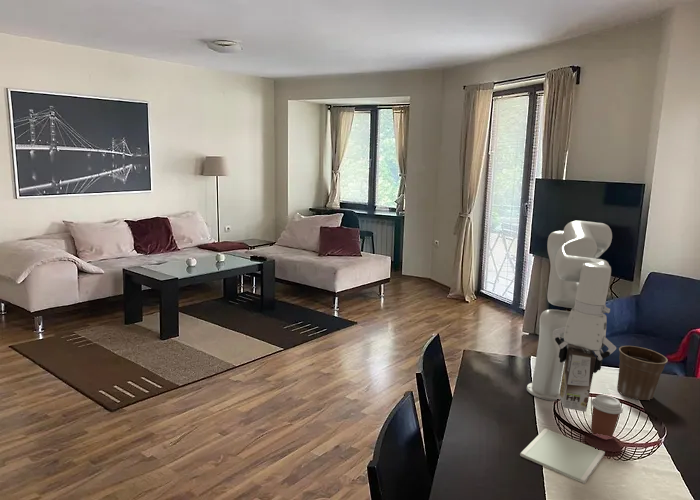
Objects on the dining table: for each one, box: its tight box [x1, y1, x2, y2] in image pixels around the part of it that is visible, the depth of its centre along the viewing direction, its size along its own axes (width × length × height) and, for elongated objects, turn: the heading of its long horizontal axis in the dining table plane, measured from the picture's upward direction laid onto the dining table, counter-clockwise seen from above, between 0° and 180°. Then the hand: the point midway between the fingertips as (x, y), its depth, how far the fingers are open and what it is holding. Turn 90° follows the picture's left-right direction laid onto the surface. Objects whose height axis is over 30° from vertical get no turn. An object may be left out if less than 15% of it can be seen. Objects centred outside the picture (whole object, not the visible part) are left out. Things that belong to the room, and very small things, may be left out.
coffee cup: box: [590, 394, 624, 436], centre depth 173 cm, size 9×9×12 cm
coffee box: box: [559, 344, 597, 413], centre depth 155 cm, size 9×6×16 cm
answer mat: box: [519, 427, 606, 484], centre depth 160 cm, size 20×18×1 cm
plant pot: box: [616, 345, 669, 401], centre depth 205 cm, size 16×16×16 cm
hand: (578, 366), depth 155 cm, fingers closed on coffee box, 8 cm apart
